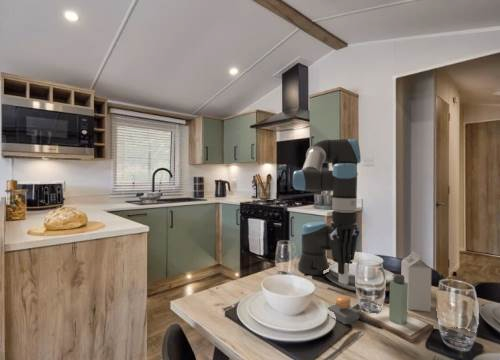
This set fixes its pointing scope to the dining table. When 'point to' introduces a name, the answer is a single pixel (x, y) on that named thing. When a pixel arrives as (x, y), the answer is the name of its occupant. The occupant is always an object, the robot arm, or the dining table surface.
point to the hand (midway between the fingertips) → (343, 282)
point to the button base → (345, 314)
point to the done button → (343, 301)
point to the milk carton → (417, 282)
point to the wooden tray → (406, 331)
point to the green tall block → (398, 299)
